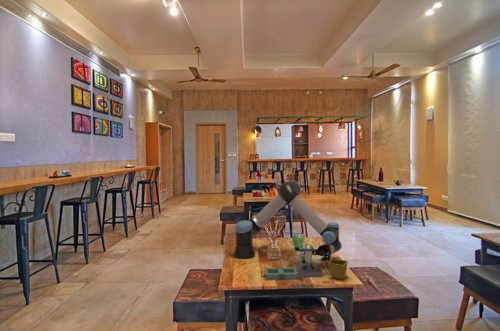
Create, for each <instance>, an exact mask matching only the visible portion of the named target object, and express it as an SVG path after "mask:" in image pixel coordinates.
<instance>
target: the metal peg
mask: <svg viewBox="0 0 500 331" xmlns="http://www.w3.org/2000/svg"><path fill="white" fill-rule="evenodd" d="M312 248H313V246H312V245H311V244H305V245H304V249H305V255H304V261H305V262H304V264H305V270H311V269H312V264H313V255H312Z"/></svg>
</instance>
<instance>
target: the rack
mask: <svg viewBox="0 0 500 331" xmlns="http://www.w3.org/2000/svg"><path fill="white" fill-rule="evenodd" d="M264 277H265V280H266V281H273V280H274V281H277V280H283V281H284V280H298V279H299V275H298V272H297V270H296V266H294V267H291V266H290V267H265V268H264Z"/></svg>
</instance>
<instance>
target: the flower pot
mask: <svg viewBox="0 0 500 331" xmlns="http://www.w3.org/2000/svg"><path fill="white" fill-rule="evenodd" d="M327 265H328V271H329V274H330V276H331V278H333V279H336V280H342V279H343V278H344V277H345V275H346V273H347V269H348V260H344V259H337V258H330V261H328V263H327Z"/></svg>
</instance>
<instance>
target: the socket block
mask: <svg viewBox="0 0 500 331" xmlns="http://www.w3.org/2000/svg"><path fill="white" fill-rule="evenodd" d="M295 269H296V271H297V273H298V278H323V270H322V269H321V267H320V266H319V264H317V263H312V269H311V270H305V263H295Z"/></svg>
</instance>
